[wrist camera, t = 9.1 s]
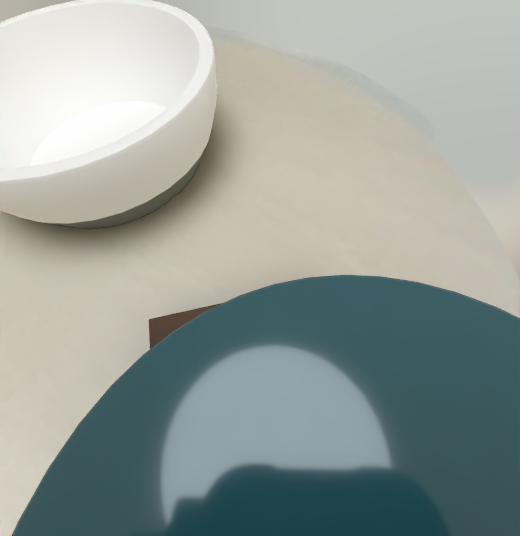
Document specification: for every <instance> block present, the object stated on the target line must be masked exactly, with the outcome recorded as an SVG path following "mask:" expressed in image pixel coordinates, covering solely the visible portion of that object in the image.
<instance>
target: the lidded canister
mask: <svg viewBox="0 0 520 536" xmlns="http://www.w3.org/2000/svg"><path fill="white" fill-rule="evenodd" d="M12 536H520V318H518V317H516V316H514V315H512V314H510V313H508V312H506V311H504V310H502V309H499V308H497V307H495V306H492V305H489V304H487V303H484V302H481V301H479V300H476V299H473V298H471V297H468V296H465V295H462V294H460V293H457V292H454V291H450V290H446V289H442V288H438V287H434V286H431V285H427V284H423V283H419V282H414V281H407V280H401V279H394V278H387V277H381V276H358V275H336V276H323V277H310V278H304V279H299V280H294V281H289V282H283V283H278V284H274V285H271V286H267V287H264V288H261V289H258V290H255V291H252V292H249V293H246V294H243V295H240V296H238V297H236V298H233V299H231V300H229V301H227V302H225V303H222V304H220V305H218V306H216V307H214V308H212V309H209V310H207V311H206V312H204V313H202V314H201V315H199V316H197V317H196V318H194V319H193V320H191V321H189V322H188V323H186V324H184V325H183V326H181V327H179V328H178V329H176V330H175V331H173V332H172V333H171V334H169V335H168V336H167V337H166V338H164V339H163V340H162V341H160V342H159V343H158V344H157V345H155V346H154V347H153V348H151V349H150V350H149V351H148V352H146V353H145V354H144V355H143V356H141V357H140V358H139V359H138V360H137V361H136V362H135V363H134V364H133V365H132V366H131V367H130V368H129V369H128V370H127V371H126V372H125V373H124V374H123V375H122V376H121V377H120V378H119V379H118V380H117V381H116V382H115V383H114V384H112V385H111V387H110V388H109V389H108V390H107V391H106V392H105V394H104V395H103V396H102V397H101V398H100V400H99V401H98V402H97V403H96V404H95V405H94V407H93V408H92V409H91V410H90V411H89V413H88V414H87V415H86V416H85V417H84V419H83V420H82V421H81V422H80V423H79V425H78V426H77V428H76V429H75V430H74V432H73V433H72V435H71V436H70V438H69V439H68V441H67V442H66V443H65V445H64V446H63V448H62V449H61V451H60V452H59V454H58V455H57V457H56V458H55V459H54V461H53V462H52V464H51V465H50V467H49V468H48V470H47V472H46V473H45V475H44V477H43V479H42V480H41V482H40V484H39V486H38V488H37V489H36V491H35V493H34V495H33V496H32V498H31V500H30V502H29V503H28V505H27V507H26V509H25V511H24V512H23V514H22V516H21V518H20V519H19V521H18V523H17V525H16V528H15V530H14V532H13V534H12Z"/></svg>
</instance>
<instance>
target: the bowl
mask: <svg viewBox="0 0 520 536" xmlns="http://www.w3.org/2000/svg"><path fill="white" fill-rule="evenodd" d="M217 97H218V94H217V81H216V68H215V55H214V44H213V42H212V40H211V38H210V36H209V34H208V32H207V30H206V29H205V28H204V27H203V26H202V25H201V24H200V23H199V22H198V20H197V19H196V18H195V17H193V16H191V15H189V14H188V13H186V12H184V11H183V10H181V9H179V8H176V7H173V6H170V5H167V4H165V3H161V2H156V1H150V0H79V1H72V2H68V3H62V4H57V5H52V6H48V7H45V8H41V9H38V10H34V11H30V12H27V13H24V14H21V15H18V16H16V17H13V18H10V19H8V20H5V21H2V22H0V211H3V212H6V213H9V214H12V215H14V216H17V217H20V218H24V219H29V220H33V221H37V222H42V223H50V224H56V225H62V226H68V227H72V228H86V229H96V228H104V227H112V226H116V225H120V224H123V223H127V222H130V221H134V220H136V219H138V218H140V217H143V216H145V215H147V214H149V213H152V212H153V211H155V210H156V209H158V208H160V207H161V206H163V205H164V204H166V203H168V202H169V201H170V200H171V199H172V198H173V197H175V196H176V195H177V194H178V193H179V192H180V191H182V189H183V188H184V187H185V186H186V184H187V183H188V182H189V181H190V180H191V178H192V177H193V175H194V173H195V171H196V169H197V167H198V165H199V162H200V159H201V157H202V154H203V152H204V150H205V147H206V145H207V143H208V141H209V137H210V133H211V129H212V124H213V119H214V113H215V108H216V102H217Z"/></svg>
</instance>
